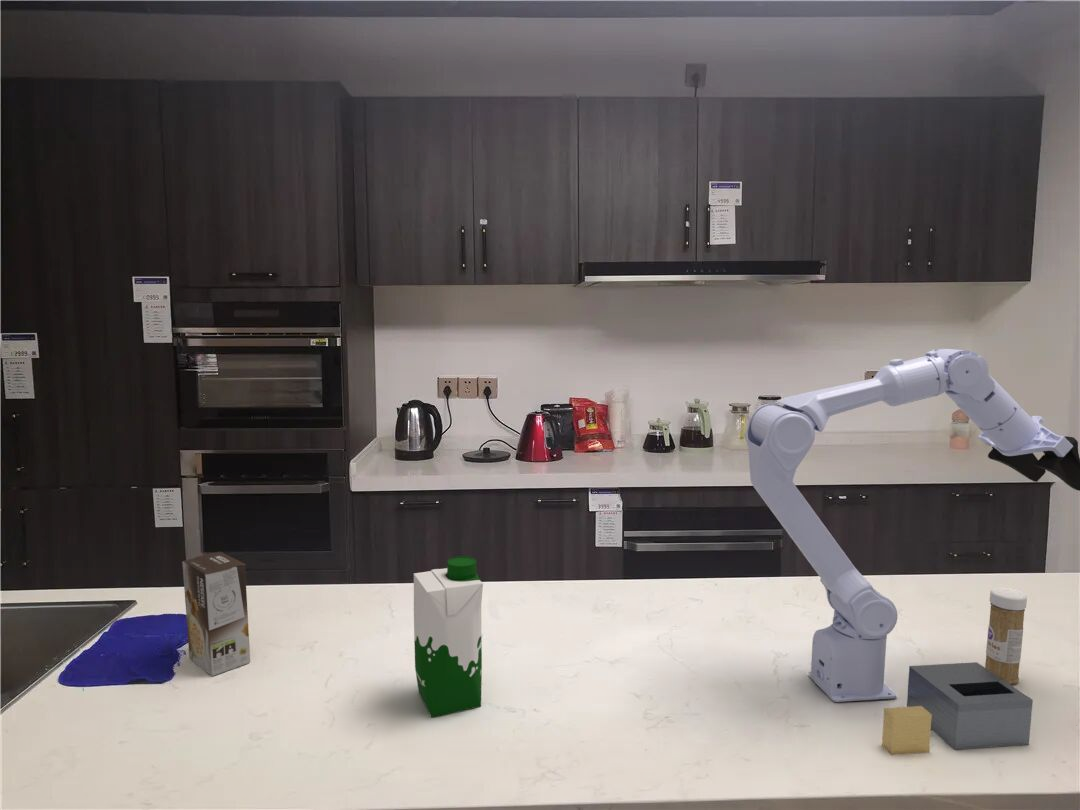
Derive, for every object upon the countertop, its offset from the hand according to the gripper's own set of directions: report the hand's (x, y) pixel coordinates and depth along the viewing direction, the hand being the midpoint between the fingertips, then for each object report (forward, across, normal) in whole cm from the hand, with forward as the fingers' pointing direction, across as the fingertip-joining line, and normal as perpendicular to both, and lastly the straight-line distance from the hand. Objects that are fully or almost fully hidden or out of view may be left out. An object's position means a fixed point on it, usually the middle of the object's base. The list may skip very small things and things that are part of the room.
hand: (1060, 480), depth 103 cm
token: (+1, -11, +43) cm, 44 cm away
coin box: (+8, -6, +35) cm, 37 cm away
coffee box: (-68, +21, +106) cm, 128 cm away
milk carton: (-41, +6, +82) cm, 92 cm away
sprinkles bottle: (+18, +5, +25) cm, 31 cm away
